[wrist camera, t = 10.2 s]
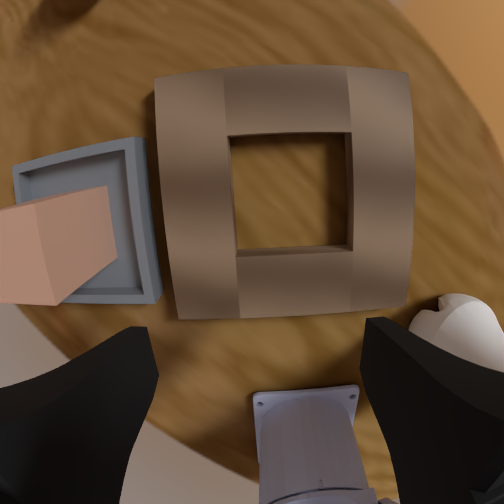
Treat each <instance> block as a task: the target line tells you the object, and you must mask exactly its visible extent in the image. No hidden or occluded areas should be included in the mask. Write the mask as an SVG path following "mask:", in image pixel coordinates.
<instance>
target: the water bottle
mask: <svg viewBox="0 0 504 504" xmlns="http://www.w3.org/2000/svg"><path fill="white" fill-rule="evenodd" d="M438 306H439V312H434V311H431V310H421V311H420V312H419V313H418V314H417V315H416V316H415V317H414V319H413V320H412V322H411V324H410V326H409V329H408V330H409V331H410V332H412V333H414V334H416V335H417V336H419V337H421V338H422V339H424V340H426V341H428V342H430V343H431V344H433V345H435V346H437V347H439V348H441V349H443V350H445V351H447V352H449V353H451V354H453V355H455V356H457V357H460V358H462V359H465V360H467V361H470V362H472V363H475V364H477V365H480V366H483V367H486V368H489V369H493V370H497V371H500V372H504V333H503V331H502V329H501V328H500V326H499V323H498V321H497V319H496V316H495V315H494V313H493V311H492V310H491V309H490V307H489V306H487V305H486V304H485V303H483V302H482V301H480V300H479V299H477V298H474V297H472V296H468V295H465V294H445V295H443V296H441V297H439V298H438Z"/></svg>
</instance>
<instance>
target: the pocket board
mask: <svg viewBox="0 0 504 504" xmlns="http://www.w3.org/2000/svg"><path fill="white" fill-rule="evenodd" d="M154 88H155V115H156V134H157V149H158V163H159V175H160V186H161V196H162V206H163V215H164V224H165V232H166V240H167V248H168V255H169V262H170V269H171V276H172V282H173V289H174V295H175V301H176V307H177V313H178V319H236V318H263V317H284V316H301V315H316V314H330V313H343V312H354V311H365V310H375V309H385V308H395V307H403V306H406V299H407V292H408V284H409V275H410V266H411V255H412V242H413V227H414V203H415V156H414V132H413V117H412V105H411V95H410V86H409V77H408V73H406V72H399V71H392V70H384V69H375V68H365V67H352V66H336V65H260V66H244V67H231V68H221V69H211V70H203V71H195V72H188V73H182V74H175V75H169V76H164V77H158V78H154ZM287 134H345V154H346V187H347V240H346V244H342V245H321V246H300V247H280V248H259V249H239V250H237V237H236V223H235V209H234V195H233V181H232V166H231V150H230V138H231V137H245V136H263V135H287Z"/></svg>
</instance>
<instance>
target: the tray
mask: <svg viewBox="0 0 504 504" xmlns="http://www.w3.org/2000/svg"><path fill="white" fill-rule="evenodd" d="M12 170H13V181H14V191H15V199H16V205H17V204H20V203H24V202H27V201H31V200H35V199H39V198H43V197H47V196H50V195H55V194H60V193H66V192H71V191H77V190H82V189H88V188H94V187H100V186H107V189H108V197H109V205H110V213H111V220H112V227H113V233H114V239H115V245H116V251H117V257H118V258H116V259H115V260H114V261H112V262H111V263H110V264H108V265H107V266H106V267H104V268H103V269H102V270H100V271H99V272H98V273H97V274H95V275H94V276H93V277H91V278H90V279H89V280H88V281H86V282H85V283H84V284H82V285H81V286H80V287H79V288H77V289H76V290H75V291H74V292H72V293H71V294H70V295H69V296H67V297H66V298H65V299H64V300H63V301H61V302H60V303H96V304H156V302H157V301H158V299H159V298H160V296H161V295H162V293H163V292H164V291H163V285H162V279H161V273H160V266H159V260H158V253H157V246H156V239H155V231H154V223H153V215H152V206H151V197H150V187H149V176H148V164H147V151H146V138H141V137H129V138H123V139H118V140H113V141H108V142H103V143H98V144H94V145H89V146H85V147H80V148H76V149H72V150H68V151H64V152H60V153H56V154H52V155H49V156H45V157H41V158H38V159H34V160H31V161H28V162H24V163H21V164H18V165H15V166H12Z"/></svg>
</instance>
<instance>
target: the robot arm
mask: <svg viewBox="0 0 504 504" xmlns="http://www.w3.org/2000/svg"><path fill="white" fill-rule="evenodd" d="M360 372H361V376H362V380H363V384H364V387H365V391H366V394H367V397H368V399H369V401H370V404H371V406H372V409H373V411H374V414H375V416H376V418H377V421H378V423H379V426H380V428H381V431H382V433H383V435H384V438H385V440H386V443H387V446H388V449H389V452H390V456H391V460H392V464H393V468H394V473H395V477H396V482H397V487H398V493H399V498H400V504H504V372H500V371H497V370H493V369H489V368H486V367H483V366H480V365H477V364H475V363H472V362H470V361H467V360H465V359H462V358H460V357H457V356H455V355H453V354H451V353H449V352H447V351H445V350H443V349H441V348H439V347H437V346H435V345H433V344H431V343H430V342H428V341H426V340H424V339H422V338H421V337H419V336H417V335H416V334H414V333H412V332H410V331H409V330H407V329H405V328H404V327H402V326H400V325H399V324H397V323H395V322H393V321H391V320H390V319H388V318H385V317H374V318H366V324H365V332H364V340H363V348H362V355H361V362H360ZM158 377H159V373H158V370H157V366H156V362H155V358H154V355H153V351H152V347H151V343H150V338H149V334H148V330H147V327H133V326H131V327H128V328H126V329H124V330H122V331H120V332H119V333H117V334H115V335H114V336H112V337H110V338H109V339H107V340H105V341H104V342H102V343H100V344H99V345H97V346H95V347H94V348H92V349H91V350H89V351H87V352H85V353H84V354H82V355H80V356H78V357H77V358H75V359H73V360H71V361H69V362H67V363H66V364H64V365H62V366H60V367H58V368H56V369H54V370H52V371H49V372H47V373H45V374H42V375H40V376H37V377H35V378H32V379H29V380H26V381H23V382H20V383H17V384H14V385H11V386H7V387H3V388H0V504H119V500H120V496H121V491H122V486H123V481H124V476H125V472H126V469H127V465H128V461H129V457H130V454H131V451H132V448H133V445H134V443H135V441H136V438H137V436H138V433H139V431H140V429H141V426H142V424H143V422H144V419H145V417H146V415H147V412H148V410H149V407H150V405H151V402H152V400H153V397H154V393H155V389H156V385H157V381H158ZM359 392H360V389H359V387H358V385H346V386H337V387H328V388H317V389H305V390H291V391H272V392H257V393H255V394H254V395H253V409H254V420H255V432H256V443H257V454H258V463H259V464H260V472H259V504H398V503H396V502H394V501H391V499H389V498H383V499H380V500H378V501H377V498H376V494H375V490H374V488H369V486H368V482H367V478H366V474H365V471H364V467H363V463H362V460H361V456H360V452H359V449H358V445H357V441H356V438H355V434H354V431H353V427H352V426H353V422H354V417H355V412H356V407H357V402H358V397H359ZM351 395H353V396H351ZM258 402H262V403H258Z"/></svg>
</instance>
